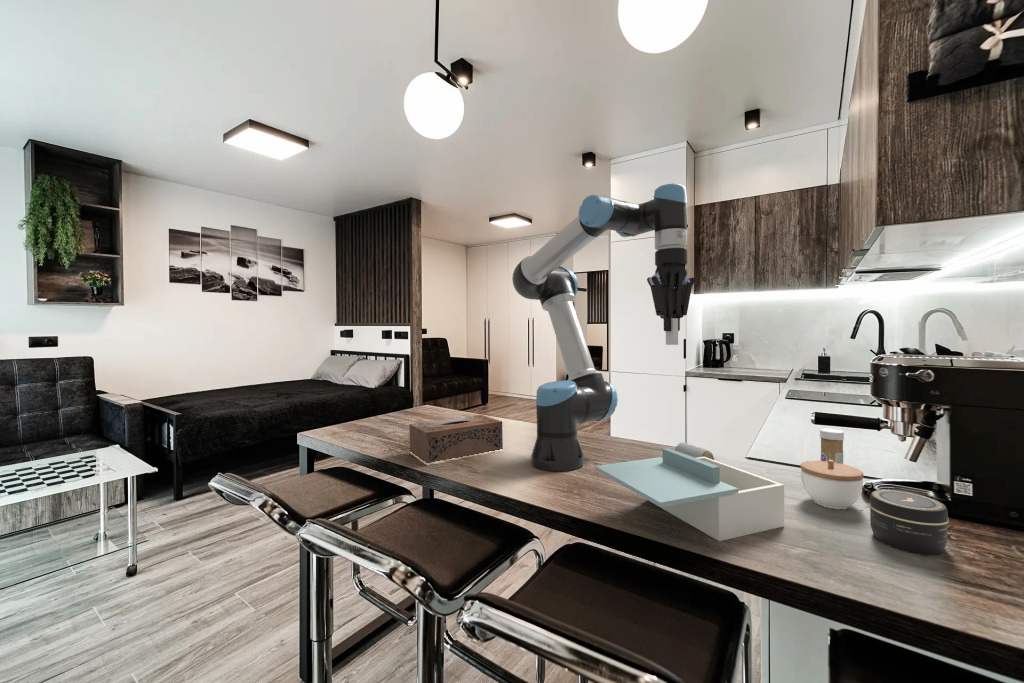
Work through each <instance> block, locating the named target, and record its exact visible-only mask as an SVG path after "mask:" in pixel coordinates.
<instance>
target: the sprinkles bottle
mask: <svg viewBox="0 0 1024 683" xmlns="http://www.w3.org/2000/svg"><path fill="white" fill-rule="evenodd" d="M819 437H820V461H827V462H828V460H833V461H834V463H840V464H844V440H845V433H844V431H843V430H841V429H835V428H826V427H825V428H821V429H820V430H819Z"/></svg>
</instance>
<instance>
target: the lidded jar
mask: <svg viewBox="0 0 1024 683" xmlns="http://www.w3.org/2000/svg"><path fill="white" fill-rule="evenodd" d="M800 473H801V474H800V475H801V482H802V485H803V488H804V491H805V492H806V493H807V495H808V497H810V498H811V499H812V501H813V503H815V502H816V503H817V505H818V504H819V506H821V505H822V506H821V507H823V506H824V507H823V508H827V507H828V508H827V509H832V508H833V510H840V509H843V510H847V508H848V509H850V507H852V506H853V505H854V504H856V503H857V502H858V501H859V499H860V497H861V495H862V491H863V485H864V484H863V482H864V480H863V479H864V472H863V471H862V470H860V469H859V468H856V467H855V466H850V465H847V464H844V463H843V464H840V463H834V461H833V460H828V462H827V461H821V460H807V461H806V460H805V461H803V462H801V463H800ZM816 503H815V504H816Z"/></svg>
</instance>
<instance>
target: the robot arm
mask: <svg viewBox="0 0 1024 683" xmlns="http://www.w3.org/2000/svg"><path fill="white" fill-rule="evenodd" d="M687 214H688V199H687V189H686V186H684V185H683V184H680V183H666V184H662V185H659V186H658V187H657V188H655V189H654V194H653V199H651V200H648V201H646V202H642V203H635V202H634V203H633V202H629V201H625V200H619V199H616V198H612V197H608V196H606V195H598V194H591V195H588V196H586V197H585V198H584V199H583V200H582V203H581V204H580V206H579V209H578V215H577V216H576V217H575V218H574V219H572V221H571V222H569V223H568V224H567V225H566V226H565V227H564V228H562V229H561V230H560V231H559V232H558V233H557V234H555V235H554V236H552V238H550V239H549V241H547V242H545V244H544V245H543V246H542V247H540V248H539V249H538V250H537V251H536V252H535V253H533V254H532V255H530V256H529V255H528V256H527V255H526V256H525V257H524V258H523V259H522V260H520V261H519V263H518V264H517V265H516V266H515V268H514V271H513V273H512V284H513V288H514V290H515V291H516V292H517V294H518V295H519V296H521V297H522V298H525V299H527V300H533V301H535V300H536V301H537V300H538V301H539V302H540V304H541V308H542V310H543V311H545V312H547V313H548V314H549V318H550V322H551V324H552V325H551V326H552V328H553V331H554V335H555V337H556V340H557V343H558V346H559V349H560V354H561V357H562V360H563V362H564V366H565V368H566V371H567V375H568V379H567V380H558V381H557V380H554V381H549V382H546V383H543V384H541V385H539V386H538V388H537V390H536V396H535V397H536V399H535V405H536V439H535V442H534V446H533V449H532V451H531V455H530V456H531V457H530V458H531V461H530V462H531V465H532V466H533V465H534V466H533V467H535V468H537V469H540V470H544V471H551V472H552V471H553V472H567V471H574V470H577V469H580V468H582V467H583V466H584V465H583V464H585V463H584V462H585V461H584V460H585V458H584V454H583V451H582V447H581V445H580V442H579V438H578V425H580V424H585V423H590V422H591V423H592V422H600V421H602V420H605V419H608V418H610V417H611V416H612V415H614V413H615V411H616V408H617V406H618V401H619V399H618V392H617V389H616V388H615V386H614V385H613V384H611V383H610V382H608V381H607V380H606V381H605V379H604V376H603V374H602V372H601V371H599V370H597V369H596V368H595V365H594V362H593V360H592V357H591V353H590V350H589V347H588V344H587V341H586V338H585V336H584V335H585V334H584V333H583V330H582V327H581V324H580V321H579V318H578V314H577V311H576V309H575V306H574V303H575V301H576V295H577V294H578V286H579V282H578V278H577V276H576V275H575V273H574V272H573V270H572V269H570V268H567V267H564V266H562V265H563V264H565V263H566V262H567V261H569V260H570V258H572V257H574V255H576V254H578V252H580V251H582V249H584V248H586V246H588V245H589V244H590V243H591V242H593V241H595V239H597V238H598V237H599V236H600V235H602V234H603V233H605V232H607V231H608V230H609V231H614V232H616V233H617V234H618V235H619V236H620V237H621V238H628V237H632V238H633V237H636V236H638V235H642V234H645V233H650V232H653V231H654V250H656V251H655V252H654V265H655V266H656V268H655V271H654V272H655V274H653V275H652V276H649V277H647V279H646V281H647V283H648V285H649V287H650V291H651V295H652V301H653V305H654V310H655V314H656V316H657V317H660V319H663V331H664V332H665V346H668V345H669V346H678V345H679V332H680V330H681V319H682V318H683V317H684V316H687V315H688V309H689V304H690V299H691V294H692V289H693V285H694V284H695V282H696V279H695V277H691V276H689V275H688V271H687V268H686V265H687V264H688V250H687V247H688V227H687V226H688V225H687V224H688V222H687V220H688V217H687V216H688V215H687ZM582 465H583V466H582ZM581 466H582V467H581Z"/></svg>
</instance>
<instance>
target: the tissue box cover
mask: <svg viewBox="0 0 1024 683" xmlns="http://www.w3.org/2000/svg"><path fill="white" fill-rule="evenodd" d="M408 426H409V452H410V451H411V452H412V453H413V454H415V455H416V456H418V457H419V458H420V459H422V460H423V461H425V462H426V463H431V462H435V461H440V460H446V459H452V458H458V457H463V456H469V455H474V454H479V453H484V452H489V451H495V450H500V449H503V446H504V445H503V444H504V442H503V438H504V437H503V435H504V434H503V421H502V420H500V419H496V418H493V417H490V416H487V415H483V414H475V415H469V416H460V417H459V416H458V417H452V418H444V419H438V420H430V421H423V422H415V423H414V422H413V423H409V425H408ZM503 450H504V449H503Z"/></svg>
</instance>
